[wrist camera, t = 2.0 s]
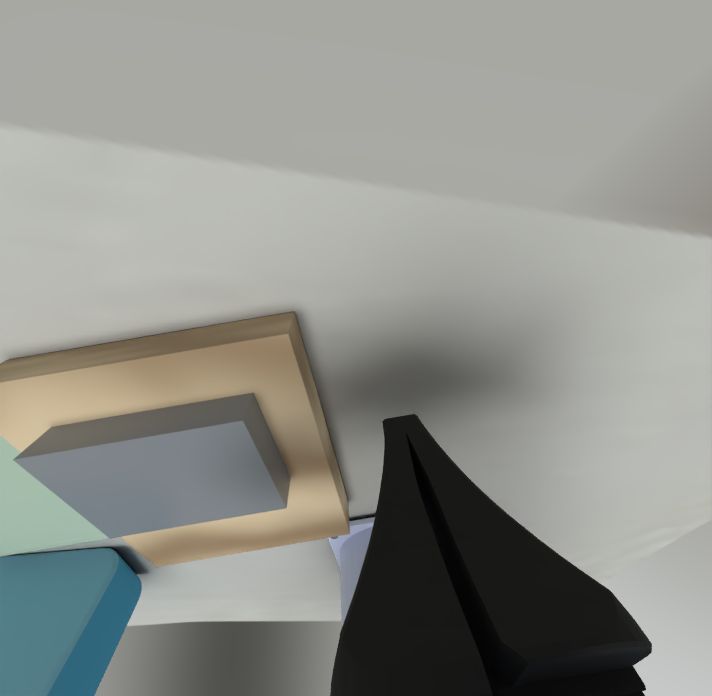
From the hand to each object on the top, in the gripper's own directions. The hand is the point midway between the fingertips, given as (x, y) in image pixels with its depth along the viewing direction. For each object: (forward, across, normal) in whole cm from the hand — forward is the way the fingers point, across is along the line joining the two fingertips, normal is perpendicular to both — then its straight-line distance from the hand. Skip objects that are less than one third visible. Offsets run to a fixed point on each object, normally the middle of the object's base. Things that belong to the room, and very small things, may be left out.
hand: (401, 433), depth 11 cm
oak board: (+3, +10, +2) cm, 10 cm away
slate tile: (+1, +10, 0) cm, 10 cm away
